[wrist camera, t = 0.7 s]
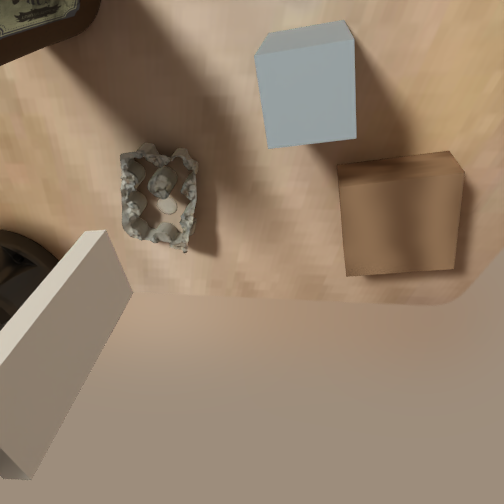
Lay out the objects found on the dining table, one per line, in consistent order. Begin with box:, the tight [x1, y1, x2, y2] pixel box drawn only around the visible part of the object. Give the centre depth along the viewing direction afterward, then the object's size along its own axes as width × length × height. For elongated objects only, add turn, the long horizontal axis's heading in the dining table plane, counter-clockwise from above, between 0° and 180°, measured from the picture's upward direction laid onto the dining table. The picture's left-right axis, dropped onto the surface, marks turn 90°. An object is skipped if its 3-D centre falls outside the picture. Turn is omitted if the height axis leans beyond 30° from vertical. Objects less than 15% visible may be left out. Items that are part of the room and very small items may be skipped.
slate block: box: [254, 20, 356, 149], centre depth 30 cm, size 6×6×10 cm
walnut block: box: [337, 151, 465, 277], centre depth 38 cm, size 10×10×5 cm
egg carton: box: [120, 142, 198, 253], centre depth 41 cm, size 11×8×4 cm
